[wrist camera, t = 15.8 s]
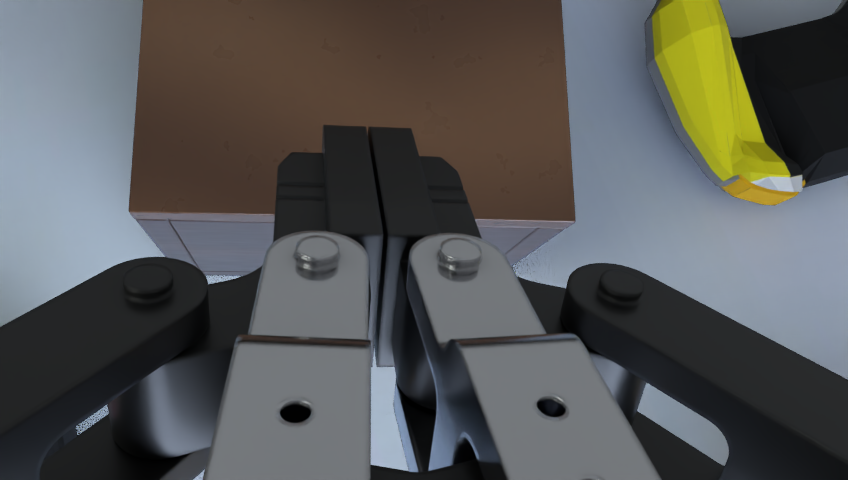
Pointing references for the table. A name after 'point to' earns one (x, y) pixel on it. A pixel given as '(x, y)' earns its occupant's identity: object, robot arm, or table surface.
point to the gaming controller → (753, 97)
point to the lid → (350, 99)
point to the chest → (248, 241)
